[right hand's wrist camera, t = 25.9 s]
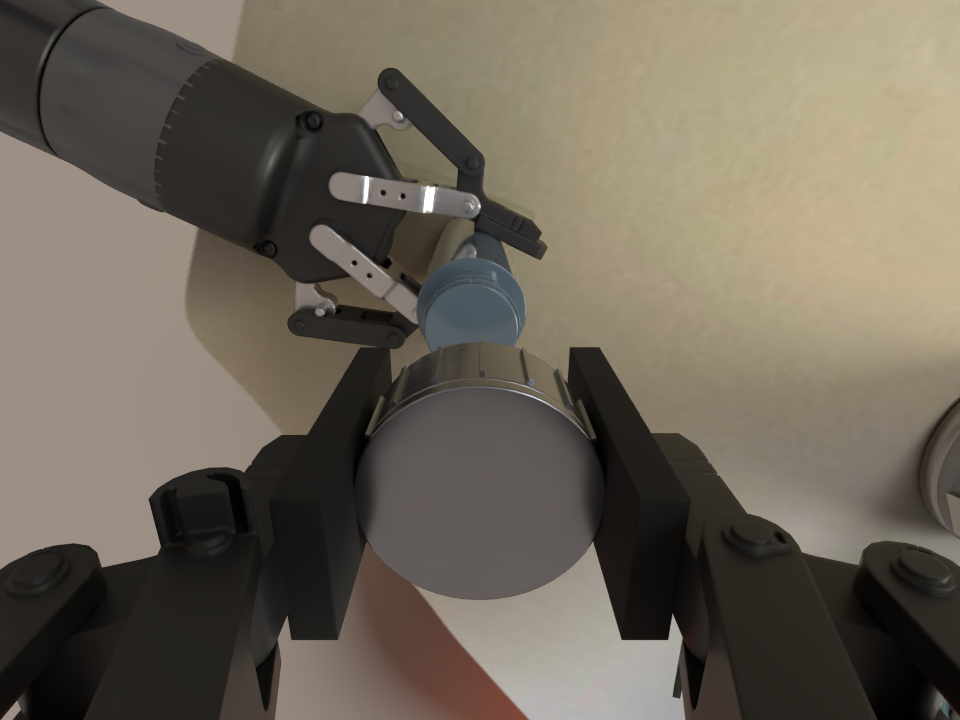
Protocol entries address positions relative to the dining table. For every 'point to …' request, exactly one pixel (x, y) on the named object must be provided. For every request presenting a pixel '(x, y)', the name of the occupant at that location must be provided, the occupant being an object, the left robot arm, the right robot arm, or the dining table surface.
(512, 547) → the lid
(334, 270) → the left robot arm
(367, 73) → the dining table surface
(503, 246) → the blue thermos bottle
